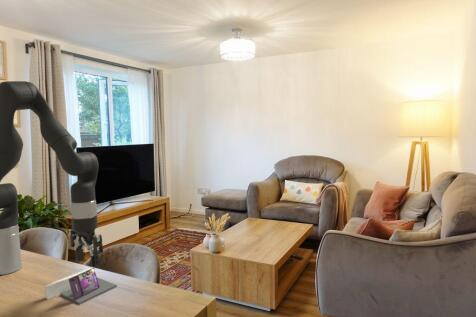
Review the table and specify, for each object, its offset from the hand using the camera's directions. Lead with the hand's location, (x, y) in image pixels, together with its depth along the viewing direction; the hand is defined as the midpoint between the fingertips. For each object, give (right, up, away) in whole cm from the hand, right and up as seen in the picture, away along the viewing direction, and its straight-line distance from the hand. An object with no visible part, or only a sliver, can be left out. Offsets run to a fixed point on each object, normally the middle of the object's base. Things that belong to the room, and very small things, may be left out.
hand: (87, 263), depth 106 cm
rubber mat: (0, -9, +1) cm, 9 cm away
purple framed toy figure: (-1, -9, -2) cm, 9 cm away
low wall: (-7, -9, +3) cm, 12 cm away
